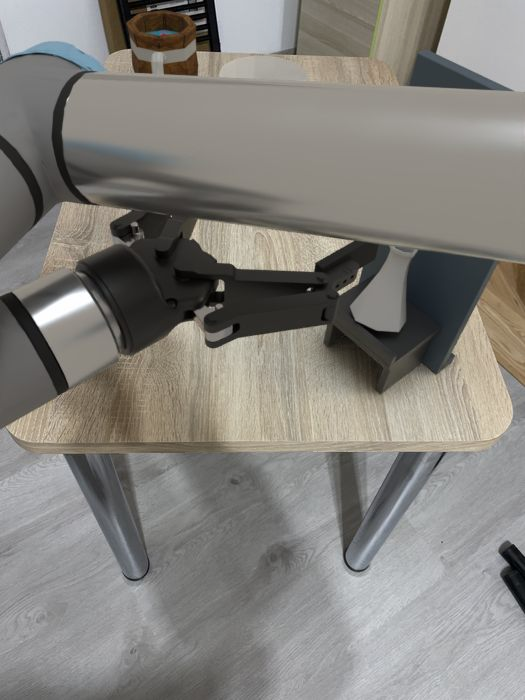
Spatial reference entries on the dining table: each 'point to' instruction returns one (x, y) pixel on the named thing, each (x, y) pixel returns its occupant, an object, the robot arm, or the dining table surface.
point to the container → (264, 69)
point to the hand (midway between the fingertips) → (318, 202)
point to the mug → (163, 43)
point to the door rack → (422, 275)
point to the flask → (386, 294)
